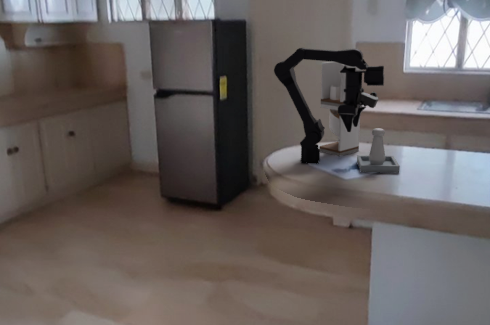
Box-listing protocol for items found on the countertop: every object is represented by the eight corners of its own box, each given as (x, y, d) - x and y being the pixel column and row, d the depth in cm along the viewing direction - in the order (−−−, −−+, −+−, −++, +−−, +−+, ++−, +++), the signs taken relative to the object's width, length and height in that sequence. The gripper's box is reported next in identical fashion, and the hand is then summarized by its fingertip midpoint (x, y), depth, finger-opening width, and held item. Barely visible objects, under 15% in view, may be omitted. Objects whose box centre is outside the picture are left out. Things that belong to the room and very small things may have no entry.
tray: (360, 172, 176) (361, 165, 175) (356, 161, 188) (357, 155, 187) (399, 172, 174) (399, 166, 174) (392, 162, 187) (393, 155, 186)
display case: (338, 146, 211) (341, 60, 201) (358, 151, 203) (362, 62, 193) (319, 151, 204) (321, 62, 194) (339, 156, 196) (343, 64, 186)
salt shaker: (384, 162, 183) (386, 127, 180) (386, 166, 178) (388, 130, 174) (367, 162, 184) (369, 127, 181) (369, 166, 179) (371, 130, 175)
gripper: (370, 89, 166) (369, 136, 170) (382, 82, 182) (380, 125, 186) (337, 88, 170) (336, 134, 175) (351, 82, 187) (350, 123, 191)
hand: (352, 129), depth 181 cm, fingers open, 9 cm apart
